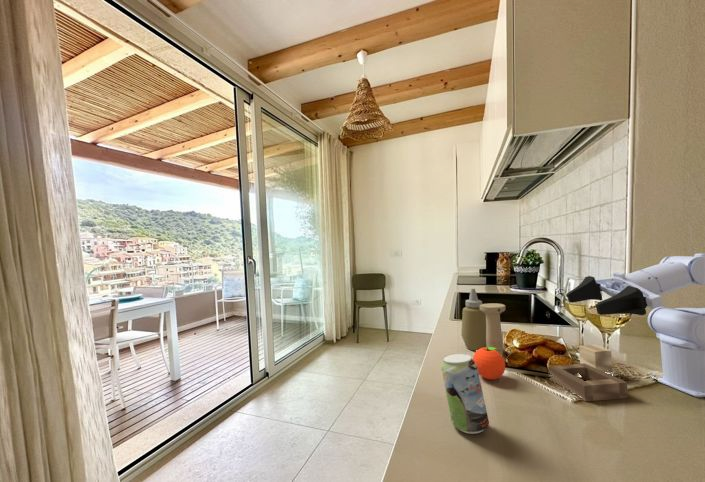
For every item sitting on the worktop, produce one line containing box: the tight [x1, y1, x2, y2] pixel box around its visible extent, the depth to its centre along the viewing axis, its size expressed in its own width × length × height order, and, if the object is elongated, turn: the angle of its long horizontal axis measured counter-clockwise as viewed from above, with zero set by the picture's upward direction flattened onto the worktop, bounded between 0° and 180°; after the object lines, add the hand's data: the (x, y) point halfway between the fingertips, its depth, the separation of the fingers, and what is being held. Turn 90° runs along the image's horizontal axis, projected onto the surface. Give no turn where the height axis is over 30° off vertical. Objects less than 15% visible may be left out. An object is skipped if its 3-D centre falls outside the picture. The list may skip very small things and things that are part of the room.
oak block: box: [578, 344, 614, 374], centre depth 64 cm, size 4×4×6 cm
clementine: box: [472, 347, 506, 380], centre depth 64 cm, size 8×7×7 cm
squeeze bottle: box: [461, 288, 487, 352], centre depth 83 cm, size 8×8×18 cm
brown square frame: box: [547, 363, 629, 402], centre depth 58 cm, size 9×9×3 cm
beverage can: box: [440, 352, 490, 435], centre depth 48 cm, size 6×7×12 cm
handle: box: [480, 302, 506, 356], centre depth 73 cm, size 5×6×15 cm
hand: (582, 303), depth 58 cm, fingers open, 7 cm apart
